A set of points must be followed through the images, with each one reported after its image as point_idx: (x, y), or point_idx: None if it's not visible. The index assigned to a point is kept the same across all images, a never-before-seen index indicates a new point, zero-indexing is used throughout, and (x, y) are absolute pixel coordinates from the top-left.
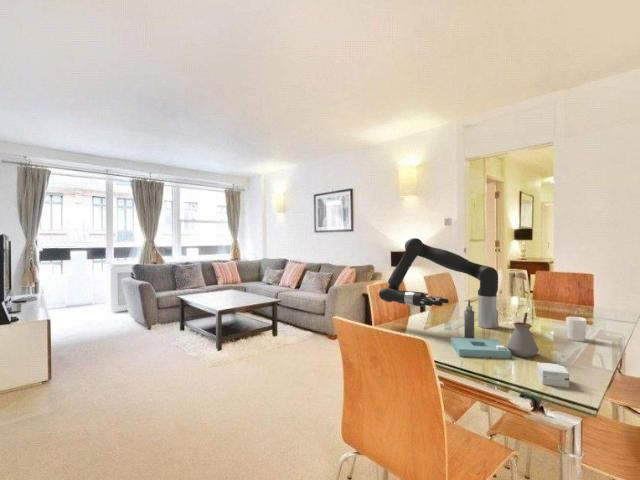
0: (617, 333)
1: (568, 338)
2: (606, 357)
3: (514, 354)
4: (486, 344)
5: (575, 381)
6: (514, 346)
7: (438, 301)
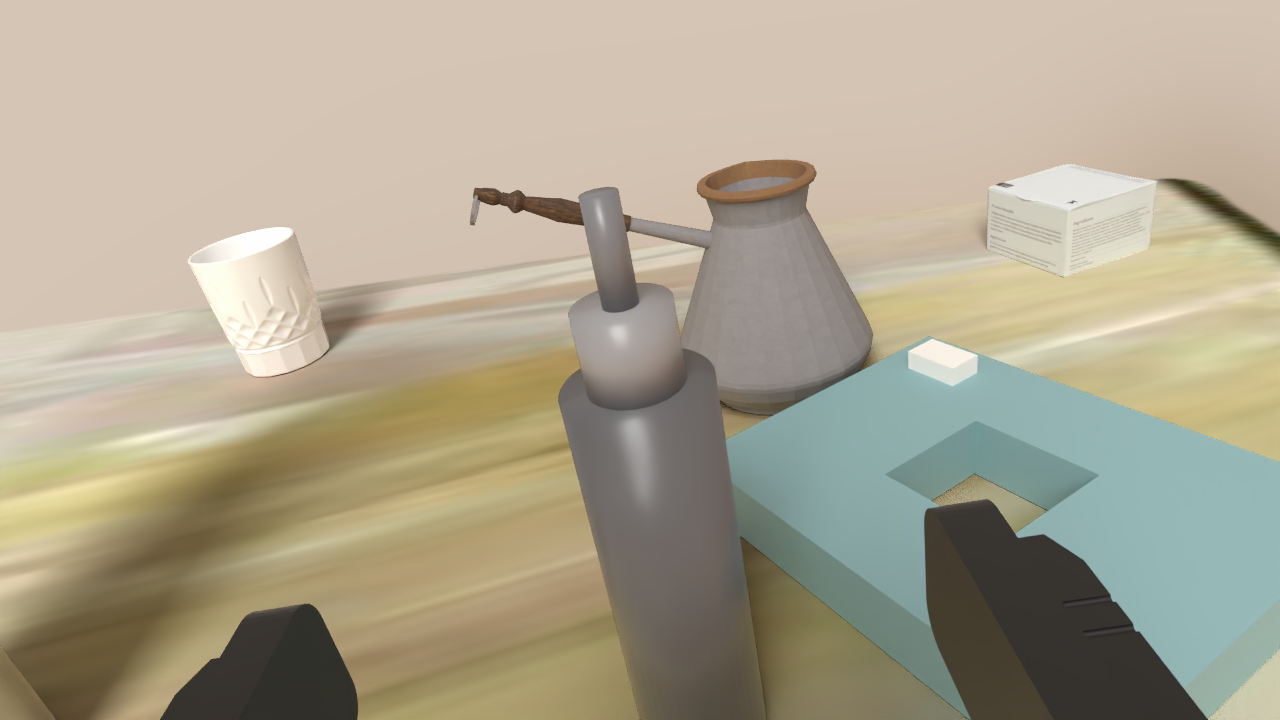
0: (127, 326)
1: (293, 368)
2: (554, 268)
3: None
4: (934, 442)
5: (968, 233)
6: (861, 321)
7: (1047, 592)
